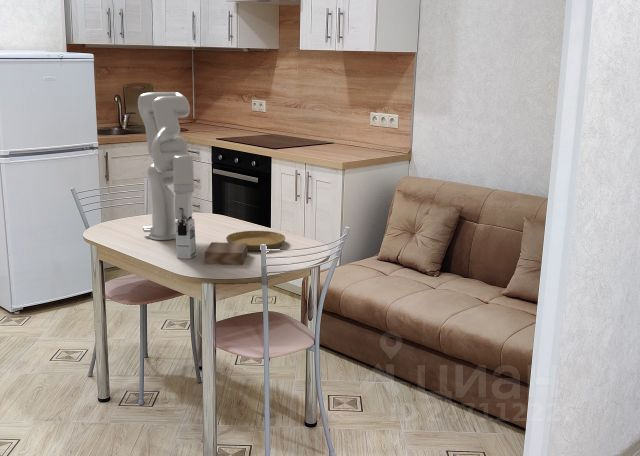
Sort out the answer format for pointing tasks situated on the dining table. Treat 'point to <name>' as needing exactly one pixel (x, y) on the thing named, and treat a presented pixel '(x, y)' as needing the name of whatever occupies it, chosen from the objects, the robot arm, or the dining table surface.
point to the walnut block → (226, 253)
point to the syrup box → (186, 241)
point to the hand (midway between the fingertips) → (185, 232)
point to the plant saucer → (257, 239)
